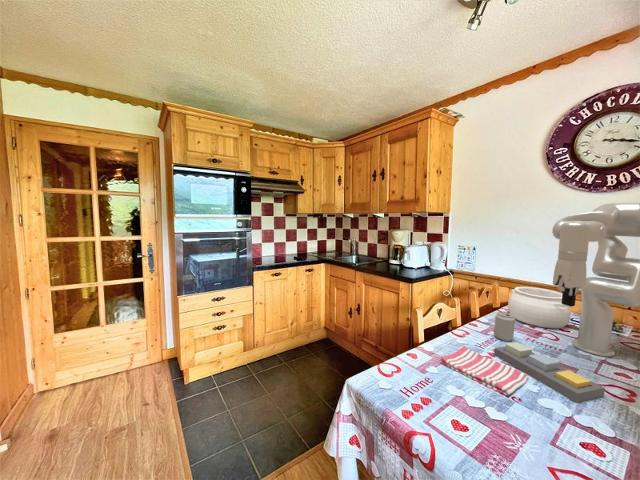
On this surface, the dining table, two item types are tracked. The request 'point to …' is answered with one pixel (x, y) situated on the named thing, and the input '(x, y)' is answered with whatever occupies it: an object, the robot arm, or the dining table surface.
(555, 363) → the blue button
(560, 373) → the mustard button
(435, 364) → the dining table surface
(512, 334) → the can
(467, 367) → the dish towel
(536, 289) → the pot
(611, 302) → the robot arm
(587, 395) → the button board
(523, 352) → the sage button
